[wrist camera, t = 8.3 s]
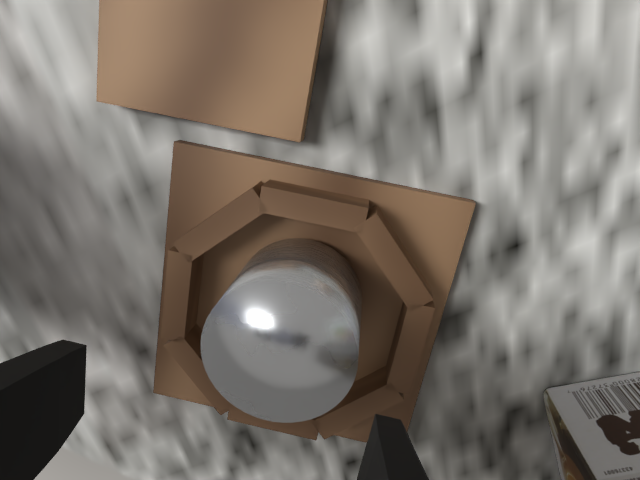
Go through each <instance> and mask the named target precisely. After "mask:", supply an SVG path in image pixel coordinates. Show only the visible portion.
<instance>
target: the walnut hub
mask: <svg viewBox="0 0 640 480" xmlns="http://www.w3.org/2000/svg"><path fill="white" fill-rule="evenodd" d="M475 204H476V203H475V202H474V201H473V200H470V199H466V198H461V197H456V196H451V195H446V194H441V193H436V192H431V191H426V190H422V189H417V188H412V187H407V186H402V185H397V184H392V183H387V182H382V181H378V180H373V179H368V178H363V177H358V176H353V175H348V174H343V173H338V172H333V171H329V170H324V169H319V168H314V167H309V166H304V165H299V164H294V163H289V162H285V161H280V160H275V159H270V158H265V157H260V156H255V155H250V154H245V153H241V152H236V151H231V150H226V149H221V148H216V147H211V146H206V145H201V144H197V143H192V142H187V141H182V140H178V141H174V147H173V159H172V171H171V183H170V196H169V208H168V220H167V232H166V244H165V257H164V269H163V281H162V293H161V305H160V318H159V330H158V342H157V354H156V366H155V379H154V391H153V393H156V394H161V395H165V396H169V397H174V398H178V399H182V400H186V401H191V402H195V403H199V404H204V405H208V406H212V407H214V408H215V409H216V410H217V412H218V413H219V414H220V415H222V414H224V413H225V412H227V411H229V412H228V419H227V420H232V421H236V422H240V423H245V424H249V425H253V426H257V427H262V428H266V429H270V430H274V431H279V432H283V433H287V434H291V435H296V436H300V437H304V438H308V439H313V440H316V439H317V435H318V432H319V433H320V435H321V436H322V437H323V438H324V439H326V438H328V437H330V436H332V435H336V436H341V437H345V438H349V439H353V440H358V441H362V442H366V443H367V441H368V438H369V434H370V431H371V427H372V424H373V420H374V416H375V414H379V415H383V416H388V417H392V418H396V419H400V420H401V421H402V423H403V424H404V426H405V429H406V431H408V427H409V424H410V421H411V417H412V414H413V411H414V407H415V404H416V401H417V397H418V394H419V391H420V387H421V384H422V381H423V377H424V374H425V371H426V367H427V364H428V361H429V357H430V354H431V351H432V347H433V344H434V341H435V338H436V334H437V331H438V328H439V324H440V321H441V318H442V314H443V311H444V308H445V304H446V301H447V298H448V294H449V291H450V288H451V284H452V281H453V278H454V274H455V271H456V268H457V264H458V261H459V258H460V254H461V251H462V248H463V244H464V241H465V238H466V234H467V231H468V228H469V224H470V221H471V218H472V214H473V211H474V208H475ZM291 238H301V239H309V240H314V241H317V242H320V243H322V244H325V245H327V246H329V247H330V248H332V249H334V250H335V251H337V252H338V253H339V254H340V255H342V256H343V257H344V258H345V259H346V261H347V262H348V263H349V264H350V265H351V267H352V268H353V270H354V272H355V273H356V275H357V278H358V280H359V283H360V287H361V291H362V308H361V324H360V339H359V355H358V368H357V373H356V377H355V380H354V382H353V385H352V387H351V388H350V390H349V392H348V393H347V395H346V396H345V397H344V398H343V400H342V401H341V402H340V403H339V404H338V405H336V406H335V407H334V408H333V409H331V410H330V411H328V412H326V413H325V414H323V415H321V416H318V417H316V418H313V419H310V420H306V421H302V422H293V423H281V422H272V421H267V420H263V419H260V418H257V417H254V416H252V415H249V414H247V413H245V412H243V411H242V410H240V409H238V408H236V407H235V406H234V405H232V404H231V403H230V402H228V401H227V400H226V399H225V398H224V397H223V396H222V395H221V394H220V393H219V392H218V390H217V389H216V388H215V387H214V385H213V384H212V382H211V380H210V379H209V377H208V375H207V373H206V371H205V368H204V365H203V361H202V356H201V345H200V344H201V334H202V330H203V326H204V324H205V322H206V319H207V317H208V316H209V314H210V312H211V311H212V309H213V308H214V306H215V305H216V304H217V302H218V301H219V300H220V298H221V297H222V296H223V294H224V293H225V292H226V290H227V289H228V288H229V286H230V285H231V284H232V282H233V281H234V280H235V278H236V277H237V276H238V274H239V273H240V272H241V270H242V269H243V268H244V266H245V265H246V264H247V262H248V261H249V260H250V259H251V258H252V256H253V255H254V254H256V253H257V252H258V251H259V250H260V249H262V248H263V247H265V246H267V245H269V244H271V243H273V242H276V241H279V240H284V239H291Z"/></svg>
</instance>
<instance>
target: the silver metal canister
mask: <svg viewBox="0 0 640 480" xmlns="http://www.w3.org/2000/svg"><path fill="white" fill-rule="evenodd" d="M361 308H362V291H361V287H360V283H359V280H358V278H357V275H356V273H355V272H354V270H353V268H352V267H351V265H350V264H349V263H348V262H347V261H346V259H345V258H344V257H343V256H342V255H340V254H339V253H338V252H337V251H335V250H334V249H332V248H330V247H329V246H327V245H325V244H322V243H320V242H317V241H314V240H309V239H301V238H291V239H284V240H279V241H276V242H273V243H271V244H269V245H267V246H265V247H263V248H262V249H260V250H259V251H258V252H257V253H256V254H254V255H253V256H252V258H251V259H250V260H249V261H248V262H247V264H246V265H245V266H244V268H243V269H242V270H241V272H240V273H239V274H238V276H237V277H236V278H235V280H234V281H233V282H232V284H231V285H230V286H229V288H228V289H227V290H226V292H225V293H224V294H223V296H222V297H221V298H220V300H219V301H218V302H217V304H216V305H215V306H214V308H213V309H212V311H211V312H210V314H209V316H208V317H207V319H206V322H205V324H204V326H203V330H202V334H201V344H200V345H201V356H202V361H203V365H204V368H205V371H206V373H207V375H208V377H209V379H210V380H211V382H212V384H213V385H214V387H215V388H216V389H217V390H218V392H219V393H220V394H221V395H222V396H223V397H224V398H225V399H226V400H227V401H228V402H230V403H231V404H232V405H234V406H235V407H236V408H238V409H240V410H242V411H243V412H245V413H247V414H249V415H252V416H254V417H257V418H260V419H263V420H267V421H272V422H281V423H293V422H302V421H306V420H310V419H313V418H316V417H318V416H321V415H323V414H325V413H326V412H328V411H330V410H331V409H333V408H334V407H335V406H336V405H338V404H339V403H340V402H341V401H342V400H343V398H344V397H345V396H346V395H347V393H348V392H349V390H350V388H351V387H352V385H353V382H354V380H355V377H356V373H357V368H358V355H359V339H360V324H361Z"/></svg>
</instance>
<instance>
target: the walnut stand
mask: <svg viewBox="0 0 640 480" xmlns="http://www.w3.org/2000/svg"><path fill="white" fill-rule="evenodd" d="M327 1H328V0H99V33H98V68H97V101H98V102H103V103H108V104H113V105H118V106H123V107H128V108H133V109H138V110H143V111H147V112H152V113H157V114H162V115H167V116H172V117H177V118H182V119H187V120H192V121H197V122H202V123H207V124H212V125H217V126H222V127H227V128H232V129H237V130H242V131H247V132H251V133H256V134H261V135H266V136H271V137H276V138H281V139H286V140H291V141H296V142H301V141H303V140H304V136H305V130H306V124H307V119H308V113H309V107H310V101H311V95H312V89H313V83H314V77H315V72H316V66H317V60H318V54H319V48H320V42H321V36H322V31H323V25H324V19H325V13H326V7H327Z"/></svg>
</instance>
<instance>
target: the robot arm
mask: <svg viewBox="0 0 640 480" xmlns="http://www.w3.org/2000/svg"><path fill="white" fill-rule="evenodd" d="M85 373H86V345H83V344H79V343H75V342H71V341H66V340H61V341H57V342H54V343H52V344H49V345H46V346H43V347H41V348H38V349H36V350H33V351H30V352H28V353H25V354H23V355H20V356H18V357H15V358H13V359H10V360H8V361H5V362H3V363H0V480H34V479H35V477H36V476H37V475H38V474H39V473H40V472H41V471H42V469H43V468H44V467H45V466H46V465H47V464H48V463H49V461H50V460H51V459H52V458H53V457H54V456H55V454H56V453H57V452H58V451H59V449H60V448H61V447H62V445H63V444H64V442H65V441H66V439H67V438H68V437H69V435H70V434H71V432H72V431H73V429H74V428H75V426H76V425H77V423H78V422H79V420H80V419H81V417H82V416H83V414H84V401H85ZM357 480H429V479H428V477H427V475H426V473H425V471H424V469H423V467H422V465H421V462H420V460H419V458H418V456H417V454H416V452H415V449H414V447H413V445H412V443H411V440H410V438H409V436H408V433H407V431H406V429H405V426H404V424H403V423H402V421H401V420H400V419H396V418H392V417H388V416H383V415H379V414H375V416H374V420H373V424H372V427H371V431H370V434H369V438H368V441H367V445H366V448H365V452H364V456H363V459H362V463H361V466H360V470H359V473H358V477H357Z"/></svg>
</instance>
